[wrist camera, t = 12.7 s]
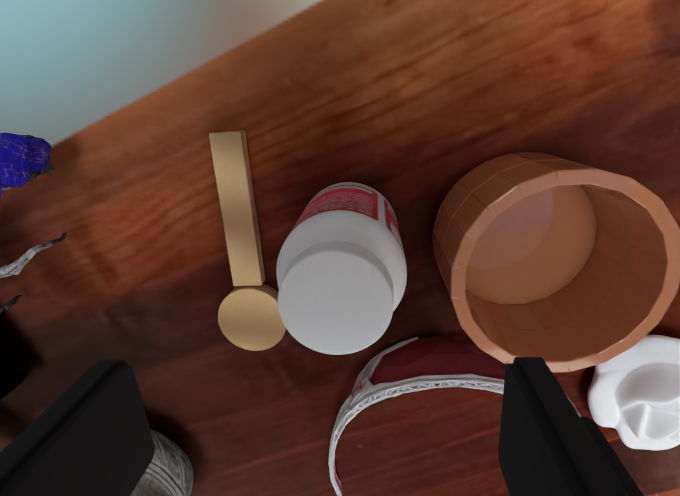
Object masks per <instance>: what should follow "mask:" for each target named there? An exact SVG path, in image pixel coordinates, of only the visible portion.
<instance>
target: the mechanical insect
mask: <svg viewBox="0 0 680 496" xmlns="http://www.w3.org/2000/svg"><path fill="white" fill-rule="evenodd" d="M50 150H51V145H50V144H49V143H48V142H46V141H45V140H44V139H41V138H37V137H34V136H31V135H16V134H11V133H0V197H1V195H2V193H3V191H4V190H8V189H10V187H22V186H23V185H24V184H25V183H26V182H27V181H32V180H33V179H36V178H37V176H38V175H41V174H44V173H51V174H53V173H52V171H53V170H55V169H54V167H53V166H52V164H51V162H50ZM66 234H67V232H66V233H63V235H62V236H61V237H60V238H59V239H56V240H53V241H49V242H46V243H43V244H40V245H36V246H34V247H33V248H31V249H29V250H28V251H27V252H26V253H25V254H24V255H23V256H21V257H20V258H19V259H17V260H16V261H15V262H13V263H11V264H10V265H7V264H6V265H4V267H1V268H0V279H1V278H4V277H10V276H12V275H18V274H19V273H20V272H21V270H22V269H23V268H24V267H25V265H26V264H27V263H28V262H29V260H30V259H31V258H32V257H33V256H34V255H35V254H36V253H37V252H39V251H40V250H43V249H46V248H49V247H52V246H53V245H55V244H57V243H58V242H62V241H63V240H64V239H65V237H66ZM19 297H21V295H18V296H16V297H15V298H13V299H11V300H10V302H8V303H7V304H6V305H5V306H4V307H3V308H1V309H0V313H1V312H3V311H4V310H8V309H9V308H10V307H11V306H12V305H13V304H15V303H16V302H17V300H18V298H19Z"/></svg>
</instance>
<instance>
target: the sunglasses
mask: <svg viewBox="0 0 680 496" xmlns="http://www.w3.org/2000/svg"><path fill="white" fill-rule="evenodd" d="M505 367H506V364H504V363H502V362H500V361H499V360H497V359H496V358H494V357H492V356H491V355H489V354H487V353H485V354H476V353H473V352H472V351H470V350H469V349H468V348H466V347H465V346H463V345H462V344H460V343H458V342H456V341H454V340H452V339H450V338H448V337H444V336H440V335H438V336H432V337H425V338H418V337H415V338H412V339H409V340H406V341H403V342H400V343H398V344H396V345H394V346H392V347H390V348H388V349H386V350H384V351H382V352H381V353H380V354H378V355H377V356H375V357H374V358H372V359H371V360H370V361H369V362H368V364H367V365H366V366H365V368H364V369H363V370H362V371H361V373H360V374H359V375H358V377H357V380H356V382H355V385H354V388H353V391H352V394H351V395H350V396H349V397H348V399H347V400H346V401H345V403H344V404H343V406H342V407H341V409H340V411H339V414H338V416H337V419H336V422H335V425H334V429H333V432H332V436H331V441H330V450H329V461H328V463H329V470H330V478H331V483H332V485H333V487H334V489H335V491H336V493H337V496H342V486H341V483H340V481H339V479H338V478H337V474H336V467H335V449H336V445H337V441H338V439H339V437H340V435H341V433H342V431H343V429H344V427H345V426H346V425H347V424H348V423H349V422H350V421H351V420H352V419H353V418H354V417H355V416H356V415H357V414H358V413H359V412H360V411H361V410H363V409H366V408H368V407H370V406H373V405H375V404H378V403H380V402H383V401H385V400H388V399H390V398H393V397H395V396H398V395H400V394H402V393H407V392H413V391H419V390H425V389H432V388H443V387H465V388H474V389H482V390H488V391H492V392H497V393H501V394H503V390H504V378H505ZM463 383H464V384H463ZM428 384H429V385H428ZM435 384H439V385H437V386H436V385H435ZM441 384H442V385H441ZM445 384H447V385H445ZM453 384H455V385H453ZM471 384H475V386H474V385H471ZM431 385H432V386H431ZM414 386H418V387H417V388H412V387H414ZM420 386H424V387H420ZM483 386H484V387H483ZM487 386H490V387H492V388H490V387H487ZM407 388H409V389H407ZM497 388H500V389H497ZM399 390H402V391H399ZM393 391H396V392H394V393H392V392H393ZM566 396H567V395H566ZM568 399H569V398H568ZM569 400H570V399H569ZM570 402H571V401H570ZM571 404H572V405H573V407H574V408H575V410H576V412H577V413H578V415H579V416H580V417H581V415H580V413H579V411H578V409H577V408H576V407H575V405H574V403H573V402H571ZM345 405H346V406H345ZM343 409H344V410H343Z"/></svg>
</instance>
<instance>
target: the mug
mask: <svg viewBox="0 0 680 496" xmlns="http://www.w3.org/2000/svg"><path fill="white" fill-rule="evenodd" d="M150 431H151V434H152V438H153V441H154V445H155V452H154V456H153V459H152V461H151V463H150V465H149V466H148V468H147V469H146V471H145V473H144V474H143V476H142V478H141V479H140V481H139V482H138V484H137V486H136V487H135V489H134V490H133V492H132V494H131V495H130V496H191V494H192V487H193V466H192V464H191V462H190V460H189V458H188V456H187V455H186V454H185V452H184V451H183V450H182V449H181V448H180V447H179V446H178V445H177V444H176V443H174V442H173V441H171V440H170V439H169V438H167V437H166V436H165V435H163V434H161V433H160V432H157V431H154V430H152V429H150Z"/></svg>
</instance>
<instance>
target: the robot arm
mask: <svg viewBox="0 0 680 496" xmlns="http://www.w3.org/2000/svg"><path fill="white" fill-rule="evenodd" d="M154 452H155V445H154V441H153V438H152V434H151V431H150V427H149V424H148V420H147V417H146V413H145V410H144V406H143V403H142V400H141V396H140V393H139V389H138V386H137V382H136V379H135V375H134V372H133V369H132V367H131V366H128V365H127V363H126V362H125V361H124V360H99V361H97V362H96V363H95V364H94V365H92V366H91V367H90V368H89V369H88V370H87V371H86V372H85V373H84V374H83V375H82V376H81V377H80V378H79V379H78V380H77V381H76V382H75V383H73V384H72V385H71V386H70V387H69V388H68V389H67V390H66V391H65V392H64V393H63V394H62V395H61V396H60V397H59V398H58V399H57V400H56V401H54V402H53V403H52V404H51V405H50V406H49V407H48V408H47V409H46V410H45V411H44V412H43V413H42V414H41V415H40V416H39V417H38V418H37V419H35V420H34V421H33V422H32V423H31V424H30V425H29V426H28V427H27V428H26V429H25V430H24V431H23V432H22V433H21V434H20V435H19V436H18V437H16V438H15V439H14V440H13V441H12V442H11V443H10V444H9V445H8V446H7V447H6V448H5V449H4V450H3V451H2V452H1V453H0V496H130V495H131V494H132V492H133V490H134V489H135V487H136V486H137V484H138V482H139V481H140V479H141V478H142V476H143V474H144V473H145V471H146V469H147V468H148V466H149V465H150V463H151V461H152V459H153V456H154ZM499 462H500V466H501V470H502V473H503V476H504V479H505V482H506V485H507V488H508V491H509V494H510V496H643V494H642V493H641V491H640V490H639V488H638V487H637V485H636V484H635V482H634V481H633V479H632V478H631V476H630V474H629V473H628V471H627V470H626V468H625V467H624V465H623V464H622V462H621V461H620V459H619V458H618V456H617V455H616V453H615V452H614V450H613V449H612V447H611V446H610V444H609V443H608V441H607V440H606V438H605V437H604V435H603V434H602V432H601V431H600V429H599V428H598V426H597V425H596V424H595V422H594V421H593V420H592V419H590V418H589V417H580V416H579V415H578V413H577V412H576V410H575V408H574V407H573V405H572V404H571V402H570V400H569V399H568V397H567V396H566V394H565V392H564V391H563V389H562V388H561V386H560V385H559V383H558V381H557V380H556V378H555V377H554V375H553V373H552V372H551V370H550V369H549V367H548V365H547V364H546V362H545V361H544V359H543V358H542V357H515V358H514V361H513V363H507V364H506V367H505V378H504V390H503V403H502V415H501V427H500V439H499Z"/></svg>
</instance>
